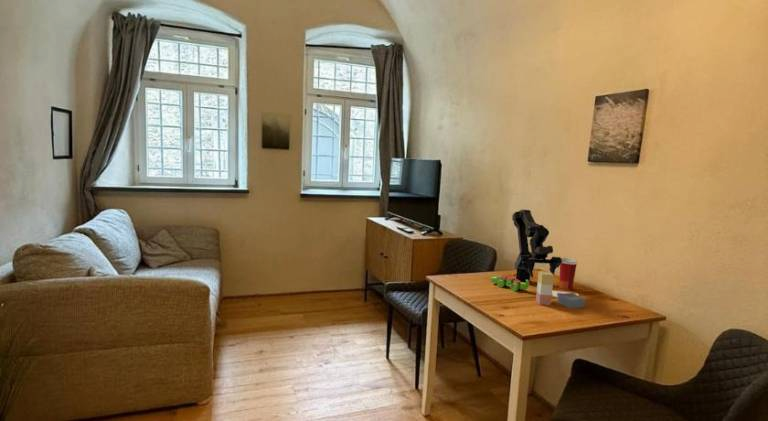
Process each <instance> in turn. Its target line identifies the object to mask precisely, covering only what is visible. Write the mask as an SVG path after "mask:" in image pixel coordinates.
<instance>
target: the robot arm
mask: <svg viewBox="0 0 768 421" xmlns="http://www.w3.org/2000/svg"><path fill="white" fill-rule="evenodd" d="M511 216H512V217H511V218H512V222H513V225H514V227H515V228H516V229H517V238H518V248H519V249H518V250H519V254H518V255H517V257H516V260H515V262H514V269H515V270H516V275H515V276H516V277H515V280H516V279H518V280H520V281H521V283H522V282H523V283H526V280H528V281H529V282H530V281H531V278H533V277H534V269H535V264H547V265H549V272H551V273H552V274H553V275H554V276H555V272H556V269H558V268H560V264H561V263H562V259H561V258H562V257H560V256H551V258H550V259H548V256H549V254H552V253H554V249H553V248H554V247H553V245H547V246H544V243H545V242H546V240H547V238H548V236H549V234H550V230H549V229H548V228H547V227H544V225H543V224H539V223H536V221H535V219H534V217H533V215H532V211H531V210H529V209H520V210H519V211H516V212H514V213H513V214H512V215H511ZM528 238H530V239H529V241H528ZM529 246H530V247H529ZM529 248H530V249H529Z"/></svg>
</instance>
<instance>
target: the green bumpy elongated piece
mask: <svg viewBox="0 0 768 421" xmlns="http://www.w3.org/2000/svg"><path fill="white" fill-rule="evenodd" d="M489 280H490V281H491V283H495V284H496V285H497V287H499V288H503V287H504V286H506V287H509V289H510V290H511V291H512V292H517V291H518V290H527V289H528V288H529V287H530V281H528V280H526V283H524V282H521V281H520V280H518V279H516V277H515V278H514V277H511V276H509V277H508V275H507V276H506V275H499V276H491V277H490V278H489Z"/></svg>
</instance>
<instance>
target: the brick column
mask: <svg viewBox="0 0 768 421" xmlns="http://www.w3.org/2000/svg"><path fill="white" fill-rule="evenodd" d="M537 275H538V276H537V283H536V284H537V285H536V296H535V303H537V304H538V305H539V306H551V305H552V298H553V295H552V291H553V286H554V280H555V279H554V278H555V274H554V275H553V274H552V273H551V272H550V271H543V270H539V271H538V274H537Z"/></svg>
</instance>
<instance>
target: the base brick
mask: <svg viewBox="0 0 768 421" xmlns="http://www.w3.org/2000/svg"><path fill="white" fill-rule="evenodd" d="M576 294H577V293H575V294H574V293H573V292H567V293H564V294H558V297H557V301H556V302H558V303H559V304H561V305H563V306H564V307H566V308H568V309H572V308H573V309H574V308H575V309H577V308H585V305H586V298H584V297H582V296H580V295H579V294H578V295H579V296H578V295H576Z"/></svg>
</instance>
